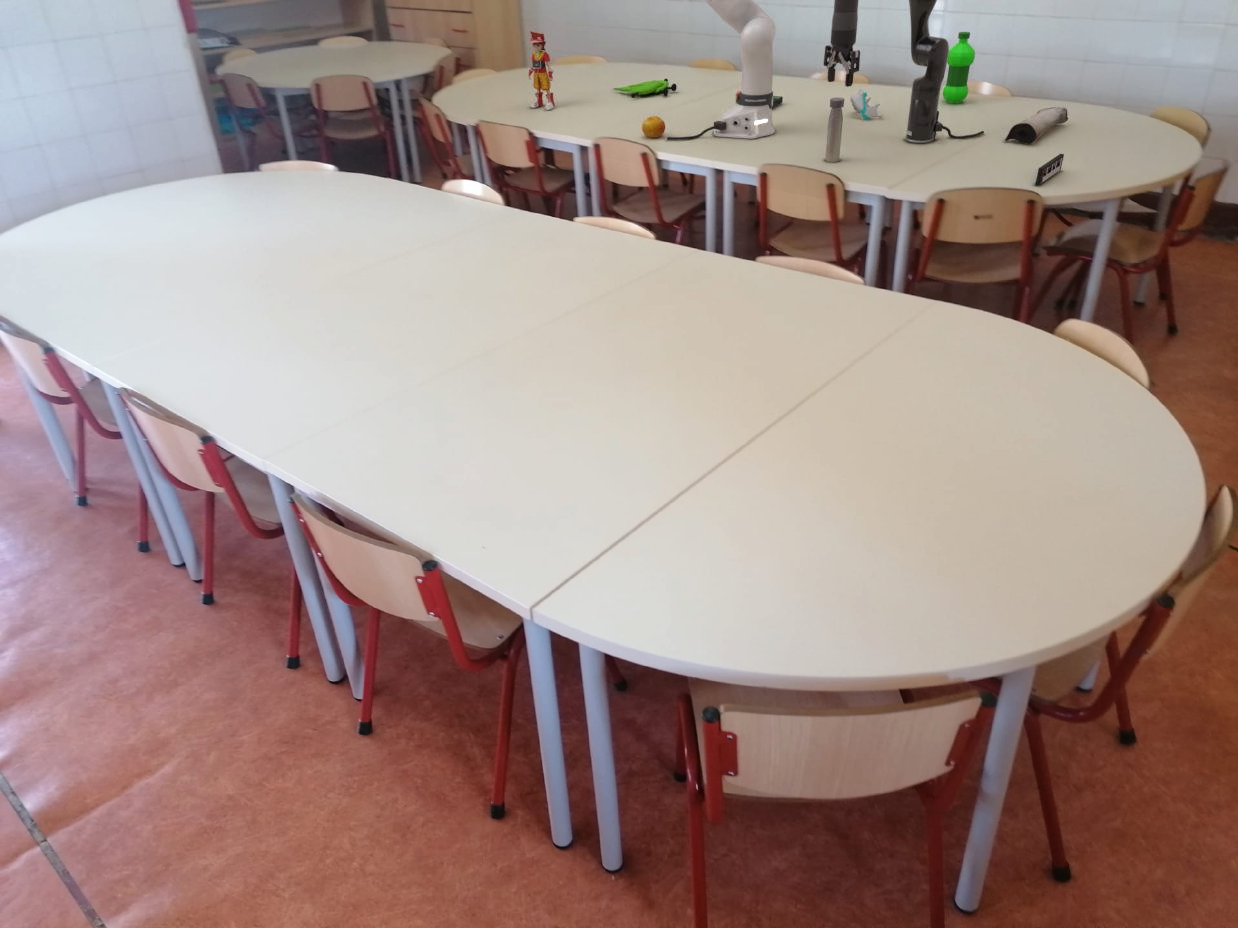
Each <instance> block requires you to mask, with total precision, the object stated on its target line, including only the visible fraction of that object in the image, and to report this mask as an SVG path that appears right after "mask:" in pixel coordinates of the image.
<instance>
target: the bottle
mask: <svg viewBox="0 0 1238 928" xmlns="http://www.w3.org/2000/svg"><path fill="white" fill-rule="evenodd" d="M842 108H843V107H842ZM842 108H831V109H830V110H829V115H828V120H827V132H826V133H827V134H826V144H825V145H826V146H825V159H824V161H825V162H827V163H837V162H839V161H840V157H841V145H842V135H843V123H844V122H843V121H844V114H843V109H842Z"/></svg>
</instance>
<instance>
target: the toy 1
mask: <svg viewBox="0 0 1238 928" xmlns="http://www.w3.org/2000/svg"><path fill="white" fill-rule="evenodd" d="M529 33H530V35H531V36H528V37H527V38H528V39H529V40H528V41H527V43H529V44H530V43H531V44H532V48H533V50H534V51H533V52H532V55H531V58H530V59H531V63H530V66H528V74H527V75H528V76H527V77H528V79H529V80H531V75H532V74H533V84H532V85H533V86H532V87H533V88H534V89H535V90H536V92H534V95H535V97H536V100H535V101H533V102H531V105H530V108H531V109H535V108H538V107H542V106H544V101H543V100H544V99H543V95H544V92H546V94H545V97H546V99H547V103H546V104H545V106H544V110H546V111H549V110H553V109H554V107H555V106H556V105H555V99H554V92H551V91H550V90H551V86H552V84H551V82H552V81H553V80H554V77H553V73H554V71H555V70H554V69H552V68H551V63H550V61H551V59H550V58H551V57H550V54H549V53H548V52H547V50H546V48H545V46H546V44H547V41H545V35H544V33H543V32H542V33H539V32H535V31H529Z"/></svg>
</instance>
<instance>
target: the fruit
mask: <svg viewBox="0 0 1238 928" xmlns="http://www.w3.org/2000/svg"><path fill="white" fill-rule="evenodd" d="M641 130H642V133H643V135H644V136H645V137H648V138H658V137H661V136H663V134H664V133H665V130H666V123H665V121H664V120H663V119H662V118H661V117H660V116H655V115H653V116H649V117H647V118H645V119H644V120H643V122H642V124H641Z"/></svg>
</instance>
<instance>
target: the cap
mask: <svg viewBox="0 0 1238 928" xmlns="http://www.w3.org/2000/svg"><path fill="white" fill-rule="evenodd" d="M844 106H845V98H844V97H838V96H837V97H831V98H830V100H829V107H830V108H831V109H832V108H844Z"/></svg>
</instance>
